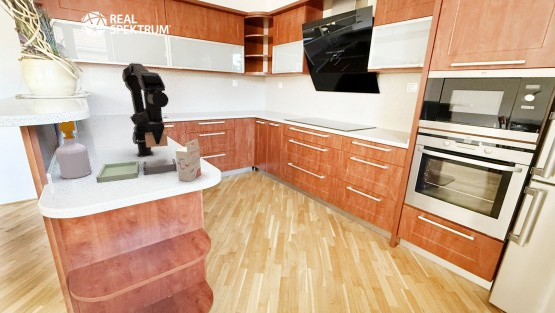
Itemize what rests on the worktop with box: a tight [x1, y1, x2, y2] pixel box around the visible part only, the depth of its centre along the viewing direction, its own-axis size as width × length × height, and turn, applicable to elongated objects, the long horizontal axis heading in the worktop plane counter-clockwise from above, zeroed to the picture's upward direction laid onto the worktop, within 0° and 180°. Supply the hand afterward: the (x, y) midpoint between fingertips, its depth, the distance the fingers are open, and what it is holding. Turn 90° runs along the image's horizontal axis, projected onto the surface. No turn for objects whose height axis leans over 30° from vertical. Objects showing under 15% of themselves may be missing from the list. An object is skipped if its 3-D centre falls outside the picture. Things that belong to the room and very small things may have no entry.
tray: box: [96, 160, 140, 184], centre depth 97 cm, size 16×13×2 cm
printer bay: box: [142, 158, 178, 176], centre depth 101 cm, size 8×12×3 cm, turn 117°
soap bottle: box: [55, 120, 93, 180], centre depth 91 cm, size 9×9×25 cm
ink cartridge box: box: [175, 138, 202, 182], centre depth 93 cm, size 9×5×15 cm, turn 168°
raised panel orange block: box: [145, 131, 169, 148], centre depth 106 cm, size 8×11×6 cm
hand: (157, 142), depth 104 cm, fingers closed on raised panel orange block, 5 cm apart
